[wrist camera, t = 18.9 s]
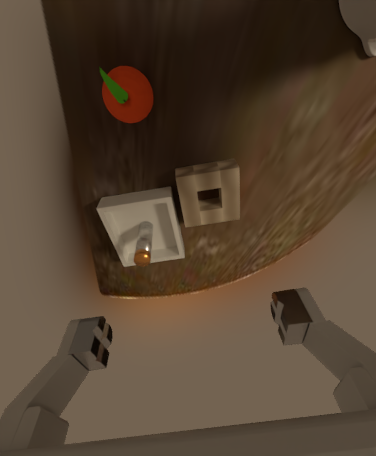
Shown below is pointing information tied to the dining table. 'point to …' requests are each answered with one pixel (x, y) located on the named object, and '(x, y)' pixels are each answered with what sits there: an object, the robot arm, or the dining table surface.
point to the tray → (138, 212)
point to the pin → (144, 244)
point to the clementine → (127, 94)
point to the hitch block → (205, 180)
